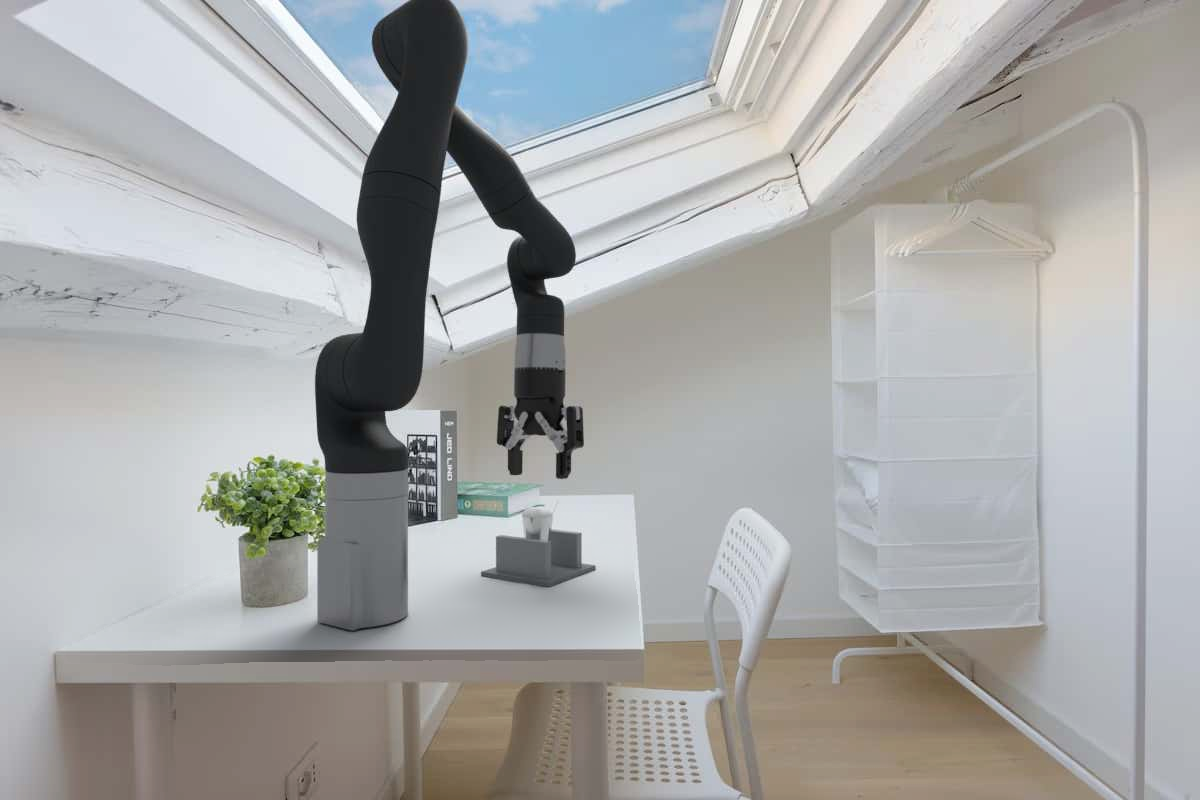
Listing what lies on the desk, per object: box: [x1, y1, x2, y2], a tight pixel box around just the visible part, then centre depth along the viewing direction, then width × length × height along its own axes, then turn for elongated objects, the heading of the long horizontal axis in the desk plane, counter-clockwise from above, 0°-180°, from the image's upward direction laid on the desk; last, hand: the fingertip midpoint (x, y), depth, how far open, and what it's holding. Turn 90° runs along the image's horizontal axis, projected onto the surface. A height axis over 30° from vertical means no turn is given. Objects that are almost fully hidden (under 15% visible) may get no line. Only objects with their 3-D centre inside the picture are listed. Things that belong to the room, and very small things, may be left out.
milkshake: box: [521, 501, 559, 541], centre depth 104 cm, size 5×5×10 cm
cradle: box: [480, 529, 597, 588], centre depth 105 cm, size 12×12×6 cm
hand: (538, 476), depth 105 cm, fingers open, 8 cm apart
